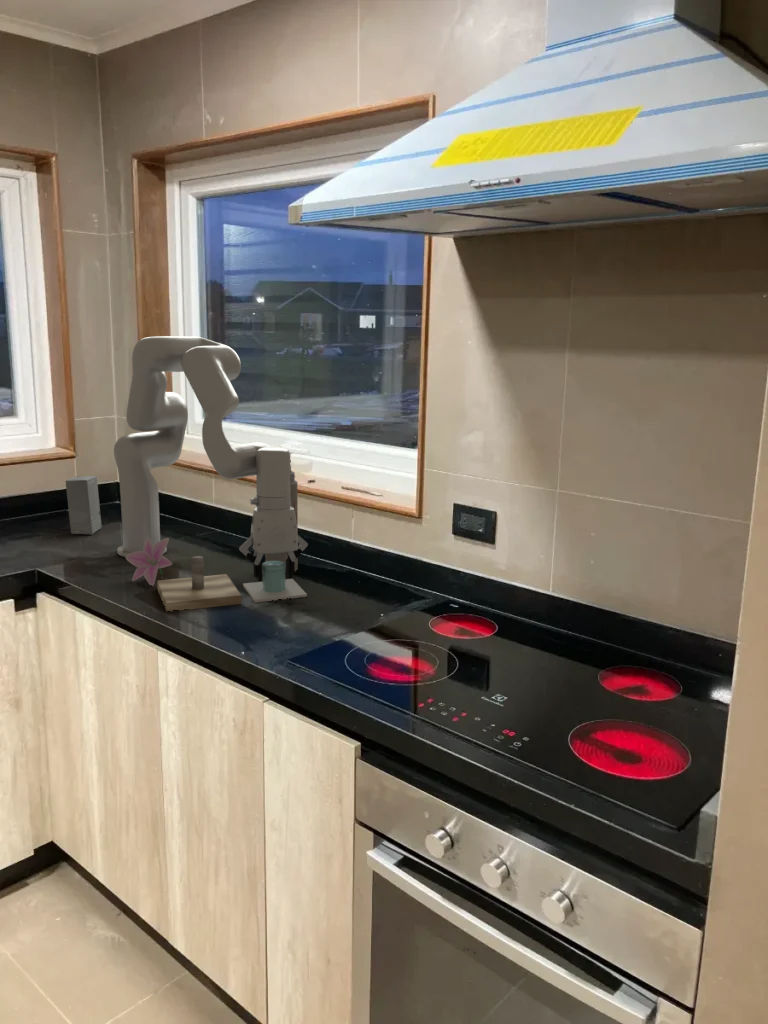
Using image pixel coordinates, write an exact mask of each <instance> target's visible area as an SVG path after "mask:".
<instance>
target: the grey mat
mask: <svg viewBox="0 0 768 1024" xmlns="http://www.w3.org/2000/svg"><path fill="white" fill-rule="evenodd" d="M242 587H243V589H245V591H246V593H247V594H248V595H249V597H250V598H251V600H252V601H253V602H254V603H260V602H261V603H262V602H269V601H270V602H271V601H272V600H273V601H279V600H278V599H282V600H289V598H291V599H298V598H300V597H301V598H306V597H308V594H307V592H306V591H304V589H303V588H301V586H300V585H299V584H298V583H297V582H296V581H295V580H294V579H293V578H292V579H290V578H287V579H286V578H285V590H283V591H281V592H273V593H272V592H266V591H264V589H263V581H261V582H259V581H256V582H246V583H245V582H244V583H242ZM287 598H288V599H287Z"/></svg>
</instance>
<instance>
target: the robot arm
mask: <svg viewBox="0 0 768 1024" xmlns="http://www.w3.org/2000/svg"><path fill="white" fill-rule="evenodd" d="M241 364H242V363H241V359H240V357H239V355H238V354H237V352H236V351H235V350H234V348H231V347H230V346H228V345H226V344H224V343H223V344H222V343H220V342H216V341H213V340H211V339H207V338H204V337H202V336H201V337H200V336H189V335H188V336H182V335H181V336H180V335H179V336H175V335H174V336H173V335H172V336H171V335H162V336H159V335H158V336H148V337H143V338H141V339H140V340H138V341H137V342H136V343H135V345H134V347H133V349H132V354H131V365H132V377H131V383H130V389H129V395H128V401H127V408H126V415H125V416H126V422H127V425H128V426H129V428H130V429H132V430H134V431H136V432H133V433H129V434H125V435H122V436H120V438H118V439H117V440H116V442H115V444H114V447H113V454H114V459H115V464H116V467H117V474H118V480H119V495H120V506H121V507H120V509H121V510H120V511H121V513H120V514H121V529H122V530H121V531H122V545H120V546H118V547H117V549H116V551H117V555H119V556H120V557H124V558H125V556H126V555H128V554H130V553H133V552H137V551H143V547H144V543H145V540H146V538H148V539H149V540H150V541H151V543H152V544H153V546H154V545H155V544H156V543H157V542H159V541H161V528H160V527H161V524H160V501H159V500H160V499H159V498H160V497H159V485H158V483H157V480H156V478H155V477H154V475H153V474H152V472H151V469H155V468H161V467H162V468H163V467H167V466H168V467H169V466H173V465H174V464H175V463H177V462H178V460H179V458H180V456H181V454H182V450H183V444H184V439H185V435H186V429H187V424H188V420H189V419H188V418H189V412H188V406H187V403H186V401H185V399H184V398H183V396H181V395H180V394H179V393H177V392H173V391H167V388H168V377H167V374H166V373H175V372H176V373H180V372H181V373H182V372H183V373H184V375H185V377H186V378H187V381H188V383H189V385H190V387H191V389H192V391H193V393H194V394H195V397H196V398H197V400H198V403H199V404H200V406H201V408H202V411H203V413H204V420H203V421H202V422H203V423H202V429H201V433H202V434H201V436H202V438H201V439H202V445H203V449H204V452H205V453H206V455H207V457H208V459H209V461H210V463H211V465H212V466H213V468H214V470H215V471H216V472H217V474H219V476H220V477H221V478H223V479H226V480H237V479H241V478H242V479H243V478H246V477H255V476H256V477H255V479H256V483H255V484H256V485H255V486H256V494H255V497H253V498H250V499H249V500H250V501H249V503H250V505H254V506H256V507H254V508H253V512H252V519H251V527H250V536H249V537H248V538H247V539H246V540H245V541H244V542H243V543H242V544H241V545H240V546H239V548H238V549H239V551H240V552H241V553H242V554H243V555H244V556H245V557H246V558H247V559H249V561H251V562H252V564H253V577H254V578H256V579H255V580H256V581H257V582H263V569H262V563H261V560H262V559H263V556H264V555H265V554H275V553H286V554H287V556H288V559H287V560H286V574H285V577H287V579H293V575H295V572H294V562H295V561H296V559H297V558H298V557H299V556H301V555H302V554H303V551H304V550H306V548H307V547H308V545H309V544H308V542H307V541H306V540H304V539H303V537H301V536H300V535H299V534H297V523H296V515H295V510H294V508H293V507H291V506H290V465H291V463H290V460H291V453H290V450H288V449H287V448H285V447H282V446H272V445H269V444H267V443H265V442H261V441H257V442H256V441H255V442H246V443H238V444H230V441H229V440H228V437H227V436H226V433H225V431H224V428H223V419H224V418H226V417H228V416H229V415H231V414H232V413H233V412H234V411H235V410H236V409H237V407H238V406H239V404H240V399H239V395H238V394H237V392H236V391H235V388H234V387H233V384H232V383H231V381H234V380H236V379H237V378H238V377H239V375H240V374H241V373H240V372H241V370H242V369H241V368H242V365H241ZM167 546H168V545H167ZM167 546H166V548H165V551H164V553H163V554H165V553H166V552H167V550H168V549H167V548H168V547H167ZM250 547H251V549H253V551H254V552H253V554H252V552H250V551H249V548H250ZM298 559H299V558H298Z"/></svg>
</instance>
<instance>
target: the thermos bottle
mask: <svg viewBox="0 0 768 1024" xmlns="http://www.w3.org/2000/svg"><path fill="white" fill-rule="evenodd" d="M291 461H292V460H291V459H290V506H291V507H293V508H294V510H295V515H296V523H297V534H298V530H299V529H298V528H299V527H298V519H299V518H298V481H297V480H295V478H296V475H295V472H294V471H293V470H292V465H291V463H292V462H291ZM298 535H299V534H298ZM264 555H265V558H264V559H265V560H264V561H265V562H267V561H282V562H284V563H285V573H286V560H287V559H288V556H287V554H286V553H275V554H264ZM298 559H299V558H297V559H296V561H295V562H294V571H295V572H297V571H298V567H299V566H298V562H299V561H298ZM296 570H297V571H296Z"/></svg>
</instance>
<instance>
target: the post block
mask: <svg viewBox="0 0 768 1024" xmlns="http://www.w3.org/2000/svg"><path fill="white" fill-rule="evenodd" d="M190 561H191V563H190V565H191V567H190V568H191V577H183V578H182V577H180V578H170V579H161V580H156V587H157V588H156V589H157V592H158V594H159V598H160V599H161V602H162V601H163V602H162V604H163V606H165V607H164V609H165V611H166V612H167V611H170V612H174V611H173V610H179V611H185V610H184V609H189V610H195V609H196V610H198V609H205V608H215V607H224V606H225V607H226V606H233V605H242V594H241V592H239V590H238V588H237V587H236V586H235V584H234V582H233V581H232V580H231V578H230V577H229V576H228V574H225V573H224V574H215V575H214V574H213V575H204V574H205V573H204V557H203V556H201V555H196V556H195V555H194V556H191V559H190ZM197 608H198V609H197Z"/></svg>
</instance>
